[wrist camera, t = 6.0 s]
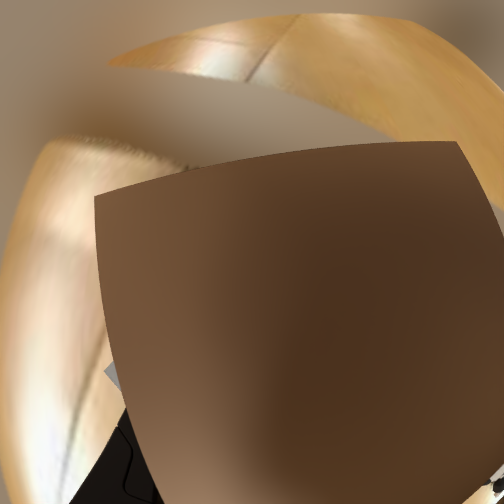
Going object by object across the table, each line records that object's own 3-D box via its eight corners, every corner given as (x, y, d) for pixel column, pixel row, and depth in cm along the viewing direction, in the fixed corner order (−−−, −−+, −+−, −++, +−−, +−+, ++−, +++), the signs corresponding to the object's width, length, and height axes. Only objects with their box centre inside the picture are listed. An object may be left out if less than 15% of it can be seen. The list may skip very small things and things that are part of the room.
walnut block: (336, 386, 14) (532, 430, 2) (228, 419, 13) (228, 598, 1) (306, 283, 15) (455, 141, 4) (197, 311, 14) (94, 196, 3)
